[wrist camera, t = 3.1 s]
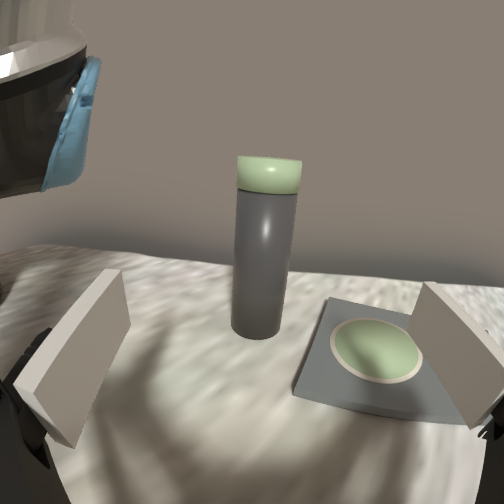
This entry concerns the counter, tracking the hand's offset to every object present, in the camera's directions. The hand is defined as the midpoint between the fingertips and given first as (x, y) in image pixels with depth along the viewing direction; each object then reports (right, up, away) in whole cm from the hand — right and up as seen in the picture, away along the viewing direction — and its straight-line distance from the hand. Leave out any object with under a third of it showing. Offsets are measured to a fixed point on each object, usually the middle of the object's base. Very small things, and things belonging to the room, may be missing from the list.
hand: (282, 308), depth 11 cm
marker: (-1, -4, +11) cm, 12 cm away
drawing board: (+12, -7, +7) cm, 15 cm away
